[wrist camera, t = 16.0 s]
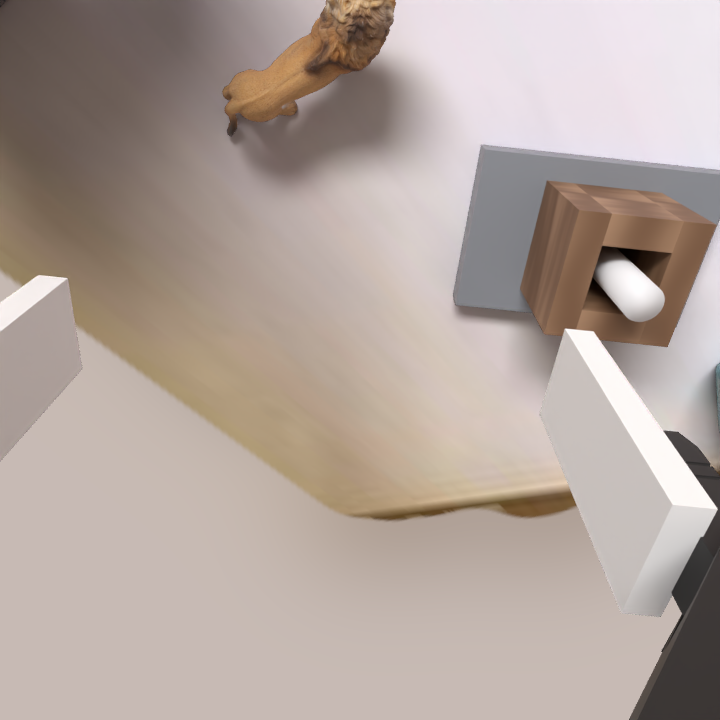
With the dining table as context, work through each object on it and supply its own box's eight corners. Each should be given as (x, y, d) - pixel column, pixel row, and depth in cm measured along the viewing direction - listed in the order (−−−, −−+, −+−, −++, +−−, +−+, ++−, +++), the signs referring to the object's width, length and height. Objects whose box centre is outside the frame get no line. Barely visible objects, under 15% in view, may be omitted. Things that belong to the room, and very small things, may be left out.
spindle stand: (452, 295, 49) (474, 374, 38) (481, 144, 43) (516, 185, 32) (665, 316, 49) (750, 402, 38) (722, 170, 43) (842, 220, 32)
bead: (519, 288, 46) (544, 334, 39) (546, 180, 42) (579, 210, 35) (624, 299, 47) (667, 347, 40) (661, 192, 42) (716, 224, 35)
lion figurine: (362, -53, 38) (357, -75, 30) (412, 21, 40) (420, 19, 32) (205, 105, 43) (165, 122, 35) (257, 164, 44) (230, 193, 37)
